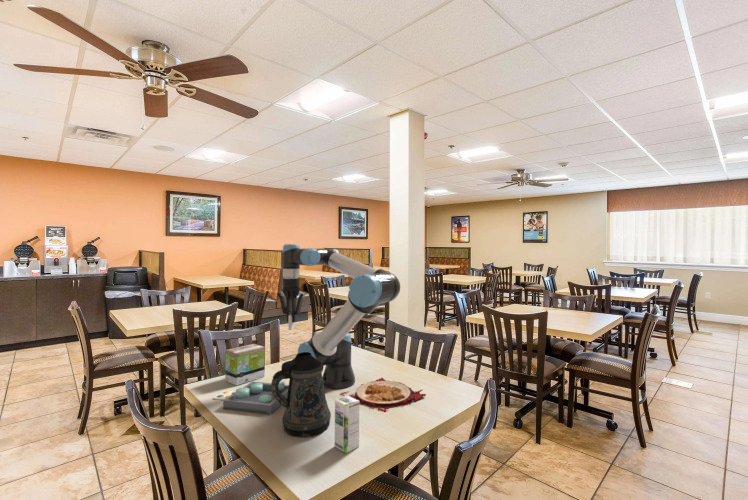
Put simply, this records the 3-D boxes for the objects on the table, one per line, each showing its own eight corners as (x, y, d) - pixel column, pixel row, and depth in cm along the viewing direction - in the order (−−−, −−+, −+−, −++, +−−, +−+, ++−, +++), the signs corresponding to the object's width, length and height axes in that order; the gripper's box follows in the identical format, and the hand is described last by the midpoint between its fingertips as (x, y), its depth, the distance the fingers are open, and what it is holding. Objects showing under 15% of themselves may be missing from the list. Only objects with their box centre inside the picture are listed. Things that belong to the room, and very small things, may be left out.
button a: (286, 387, 150) (286, 381, 150) (280, 391, 145) (280, 385, 145) (275, 386, 151) (275, 380, 151) (269, 390, 146) (269, 384, 146)
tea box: (237, 386, 160) (236, 353, 160) (224, 381, 166) (224, 349, 166) (265, 376, 172) (265, 346, 172) (253, 372, 178) (253, 342, 178)
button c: (265, 389, 152) (265, 383, 152) (258, 394, 148) (258, 388, 148) (254, 388, 154) (254, 382, 154) (247, 393, 149) (247, 387, 149)
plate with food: (382, 381, 168) (382, 374, 168) (426, 397, 148) (426, 389, 148) (339, 397, 151) (339, 388, 151) (383, 417, 131) (382, 407, 131)
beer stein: (340, 421, 127) (340, 351, 127) (303, 447, 110) (302, 366, 110) (304, 410, 136) (304, 344, 135) (265, 433, 119) (265, 358, 119)
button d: (251, 394, 143) (251, 388, 143) (244, 399, 138) (244, 393, 138) (240, 393, 144) (240, 387, 144) (233, 398, 139) (233, 391, 139)
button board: (294, 393, 152) (294, 385, 152) (270, 414, 132) (270, 405, 132) (252, 389, 157) (252, 381, 157) (223, 408, 137) (223, 400, 137)
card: (241, 393, 152) (241, 391, 152) (230, 400, 144) (230, 399, 144) (225, 391, 154) (225, 389, 154) (212, 398, 146) (212, 397, 146)
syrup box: (333, 446, 111) (333, 399, 111) (348, 439, 115) (348, 394, 115) (345, 454, 107) (345, 405, 107) (360, 446, 111) (360, 399, 111)
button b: (274, 401, 140) (274, 395, 140) (268, 407, 135) (268, 400, 135) (263, 400, 142) (263, 394, 142) (256, 405, 137) (256, 399, 137)
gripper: (307, 277, 166) (307, 328, 166) (282, 277, 169) (282, 326, 169) (300, 278, 159) (301, 331, 159) (274, 278, 162) (274, 330, 162)
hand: (291, 329), depth 164 cm, fingers closed
